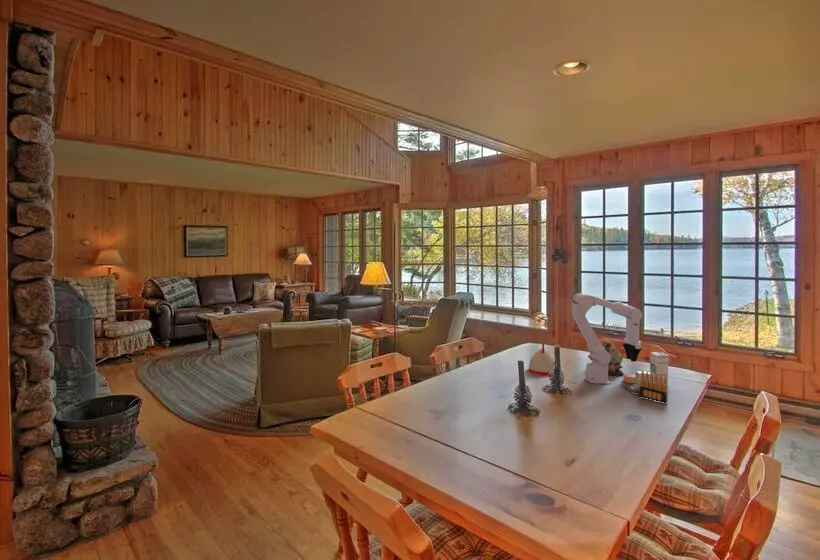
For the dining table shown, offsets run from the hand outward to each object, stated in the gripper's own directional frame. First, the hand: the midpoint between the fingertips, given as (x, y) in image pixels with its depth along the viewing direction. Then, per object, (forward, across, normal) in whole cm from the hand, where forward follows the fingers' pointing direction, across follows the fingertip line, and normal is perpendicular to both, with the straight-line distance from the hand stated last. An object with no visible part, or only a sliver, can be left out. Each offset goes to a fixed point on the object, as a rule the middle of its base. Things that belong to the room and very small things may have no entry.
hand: (631, 359), depth 201 cm
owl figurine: (+11, +14, +7) cm, 19 cm away
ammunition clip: (+11, -26, +1) cm, 28 cm away
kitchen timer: (+10, +12, +39) cm, 42 cm away
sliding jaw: (+9, -6, 0) cm, 11 cm away
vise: (+10, -12, 0) cm, 16 cm away
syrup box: (+11, -2, -12) cm, 16 cm away
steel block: (+9, -14, +1) cm, 17 cm away
